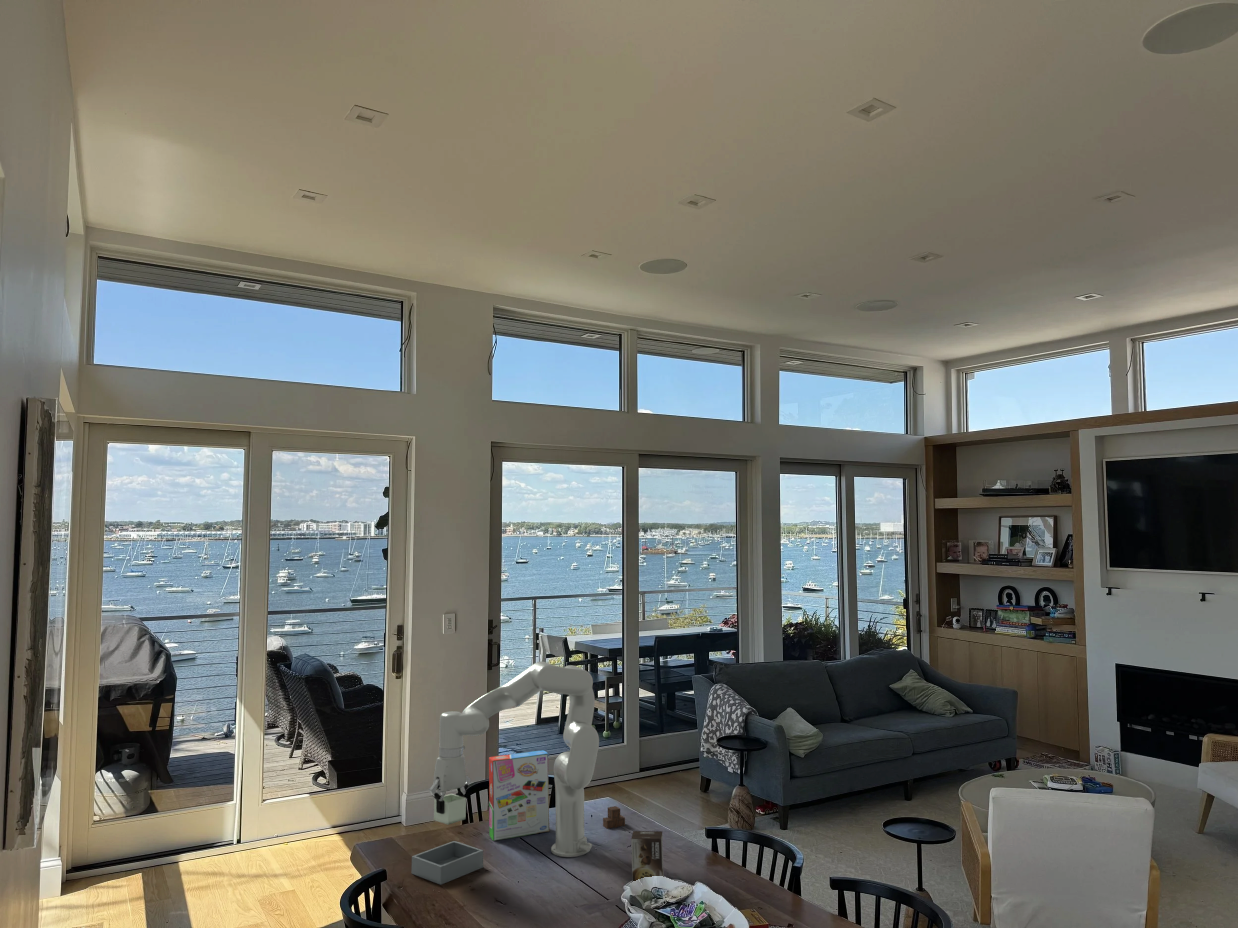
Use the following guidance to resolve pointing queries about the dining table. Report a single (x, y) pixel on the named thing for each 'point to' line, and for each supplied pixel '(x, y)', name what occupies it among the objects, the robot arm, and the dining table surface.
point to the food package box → (647, 854)
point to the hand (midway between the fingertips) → (450, 809)
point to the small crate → (451, 809)
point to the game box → (518, 794)
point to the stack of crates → (613, 818)
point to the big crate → (447, 862)
